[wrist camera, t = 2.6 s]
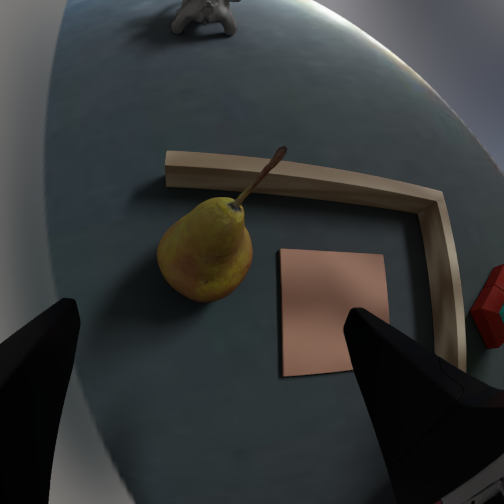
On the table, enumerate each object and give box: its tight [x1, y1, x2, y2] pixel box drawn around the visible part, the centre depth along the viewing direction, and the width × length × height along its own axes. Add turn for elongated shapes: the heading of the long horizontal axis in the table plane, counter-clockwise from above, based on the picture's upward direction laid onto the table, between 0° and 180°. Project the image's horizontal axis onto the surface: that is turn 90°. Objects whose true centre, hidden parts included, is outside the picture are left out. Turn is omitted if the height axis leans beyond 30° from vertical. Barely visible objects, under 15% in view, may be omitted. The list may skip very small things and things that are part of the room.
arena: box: [165, 151, 466, 376], centre depth 21 cm, size 18×24×3 cm
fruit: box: [156, 146, 287, 303], centre depth 15 cm, size 6×6×12 cm
